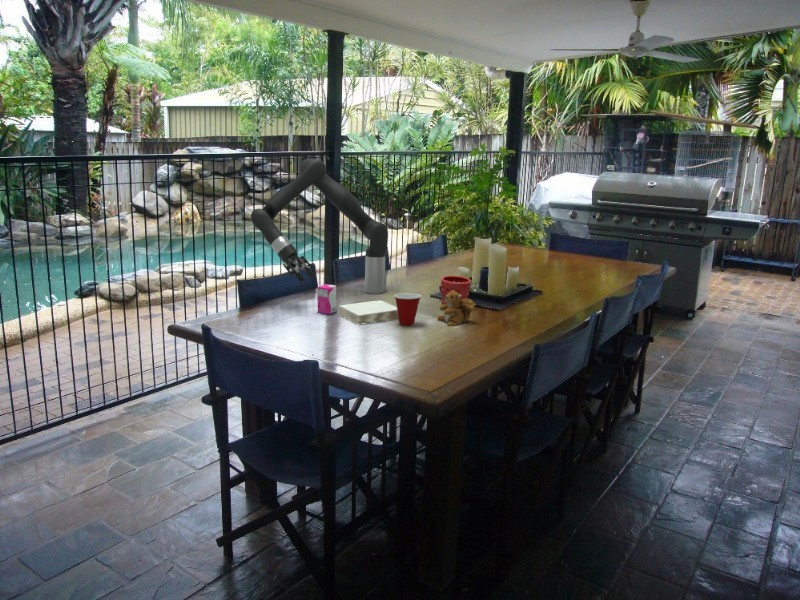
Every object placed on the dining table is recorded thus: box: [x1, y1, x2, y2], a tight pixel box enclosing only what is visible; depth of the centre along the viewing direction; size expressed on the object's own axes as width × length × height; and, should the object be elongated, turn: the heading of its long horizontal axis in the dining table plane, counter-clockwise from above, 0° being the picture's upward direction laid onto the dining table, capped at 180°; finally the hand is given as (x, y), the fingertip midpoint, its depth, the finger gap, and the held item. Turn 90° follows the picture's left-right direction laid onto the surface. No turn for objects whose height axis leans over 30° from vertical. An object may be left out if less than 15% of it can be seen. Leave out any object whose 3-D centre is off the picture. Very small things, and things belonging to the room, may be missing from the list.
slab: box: [338, 299, 399, 325], centre depth 268 cm, size 20×16×4 cm
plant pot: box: [440, 275, 472, 305], centre depth 291 cm, size 13×13×12 cm
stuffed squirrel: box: [436, 290, 477, 327], centre depth 265 cm, size 10×14×13 cm
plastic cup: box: [393, 292, 422, 327], centre depth 259 cm, size 11×11×12 cm
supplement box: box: [316, 283, 337, 316], centre depth 271 cm, size 6×6×12 cm
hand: (308, 279), depth 272 cm, fingers open, 8 cm apart
